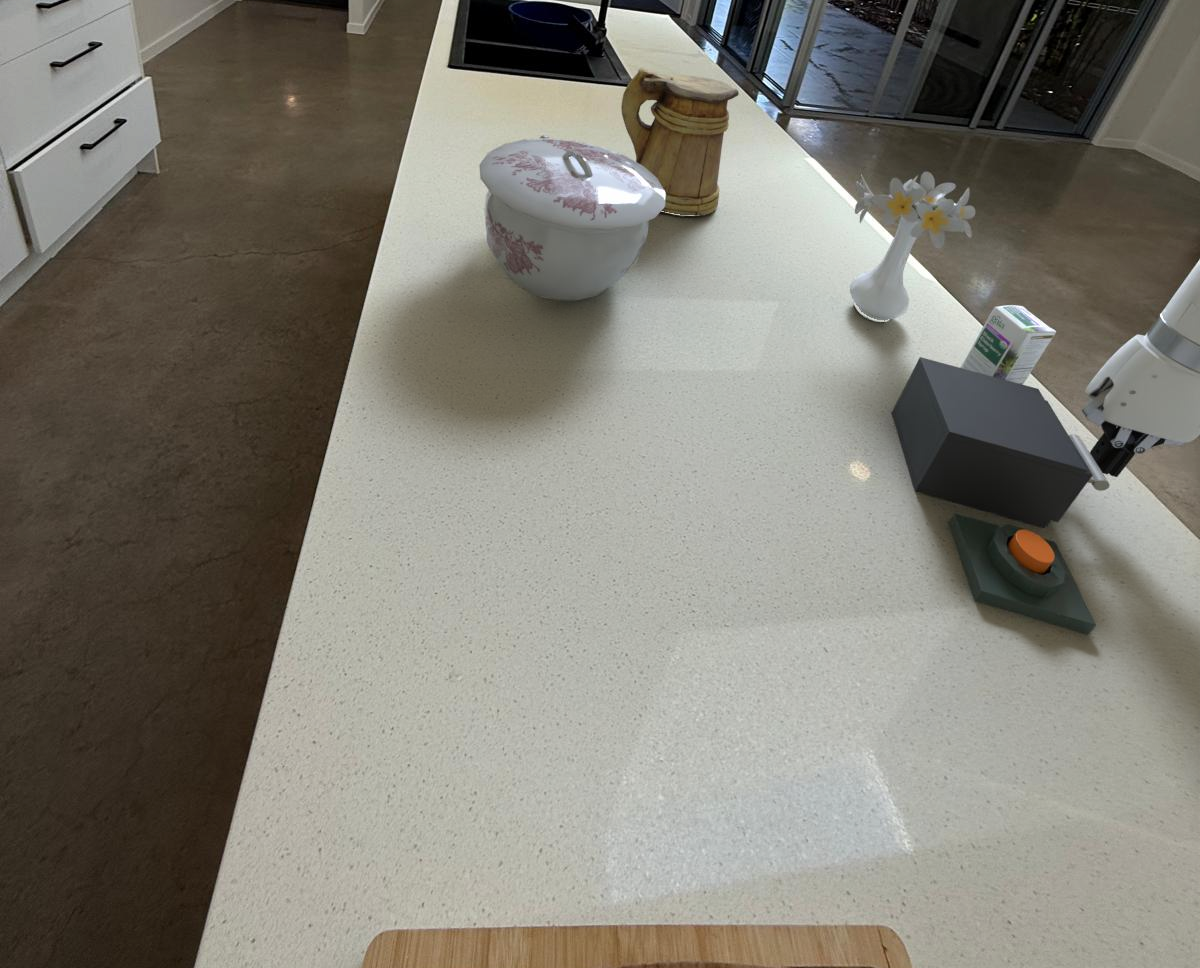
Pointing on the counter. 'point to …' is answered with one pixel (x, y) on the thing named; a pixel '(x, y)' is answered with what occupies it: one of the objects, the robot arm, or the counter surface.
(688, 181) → the tankard
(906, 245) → the flower vase
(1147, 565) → the counter surface
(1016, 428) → the dark grey cabinet
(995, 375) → the syrup box
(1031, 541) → the button
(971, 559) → the panel
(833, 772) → the counter surface
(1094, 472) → the drawer
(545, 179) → the chamber pot
